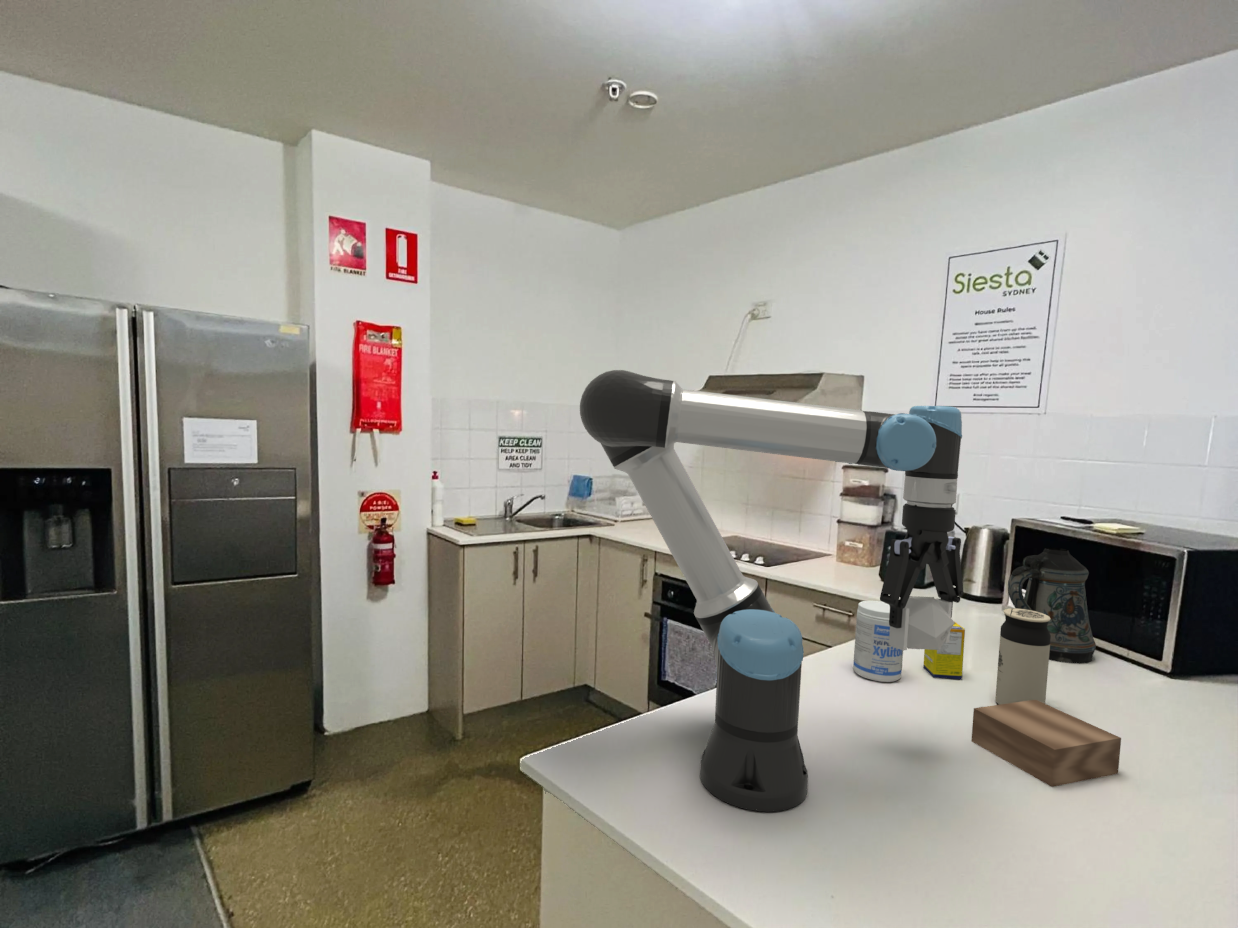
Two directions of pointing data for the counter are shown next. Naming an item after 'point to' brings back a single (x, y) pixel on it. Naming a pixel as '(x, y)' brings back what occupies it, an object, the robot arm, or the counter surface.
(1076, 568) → the beer stein
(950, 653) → the supplement box
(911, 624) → the die
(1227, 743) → the counter surface
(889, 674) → the supplement tub
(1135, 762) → the counter surface
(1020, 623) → the travel mug
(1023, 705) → the walnut block
